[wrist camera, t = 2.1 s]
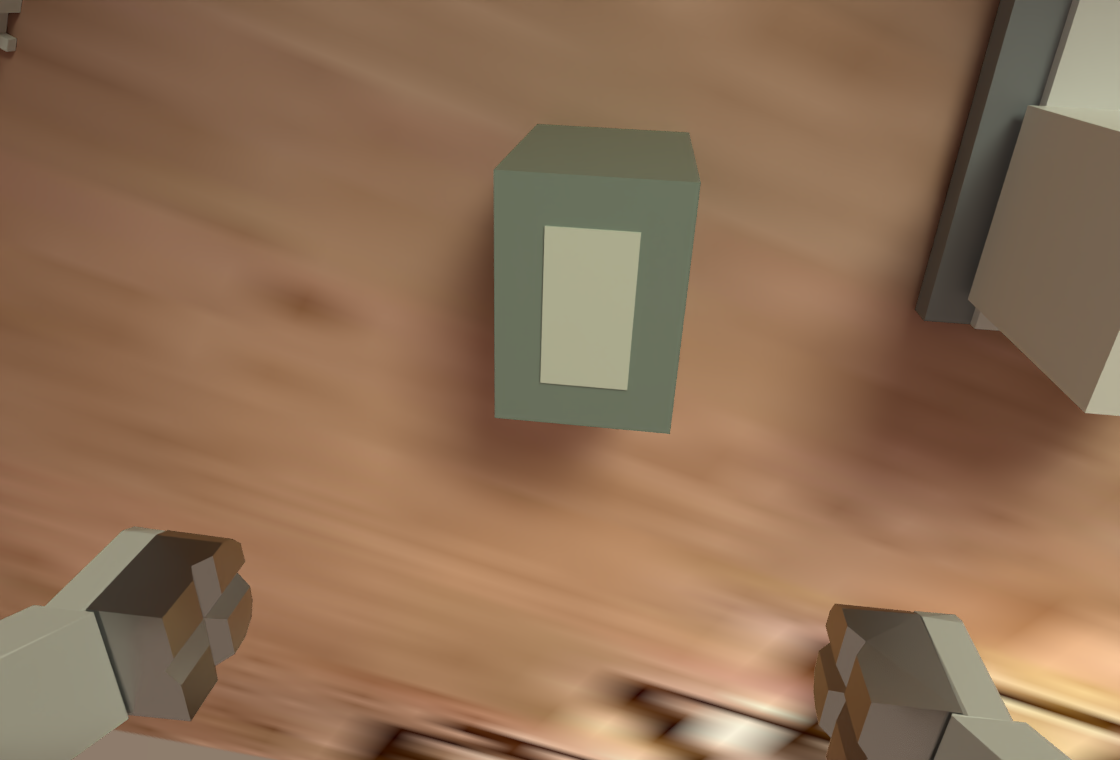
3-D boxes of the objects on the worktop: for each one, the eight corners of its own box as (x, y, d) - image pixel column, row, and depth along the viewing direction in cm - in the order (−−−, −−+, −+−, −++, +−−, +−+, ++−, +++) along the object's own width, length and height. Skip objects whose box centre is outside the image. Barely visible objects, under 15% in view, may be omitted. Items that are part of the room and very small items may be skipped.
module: (537, 123, 25) (493, 170, 18) (688, 132, 24) (700, 182, 18) (533, 318, 28) (494, 418, 21) (666, 329, 28) (669, 435, 21)
